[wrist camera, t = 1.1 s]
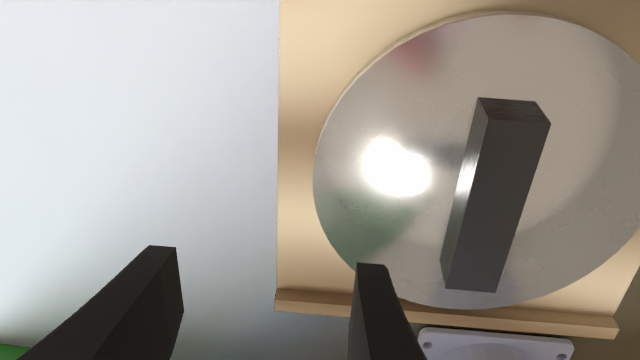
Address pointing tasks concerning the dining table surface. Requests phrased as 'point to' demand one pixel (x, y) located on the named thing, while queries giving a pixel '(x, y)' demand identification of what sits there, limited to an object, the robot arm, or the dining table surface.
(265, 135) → the dining table surface
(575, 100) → the lid
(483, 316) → the lid rest
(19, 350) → the hardback book
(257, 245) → the dining table surface
